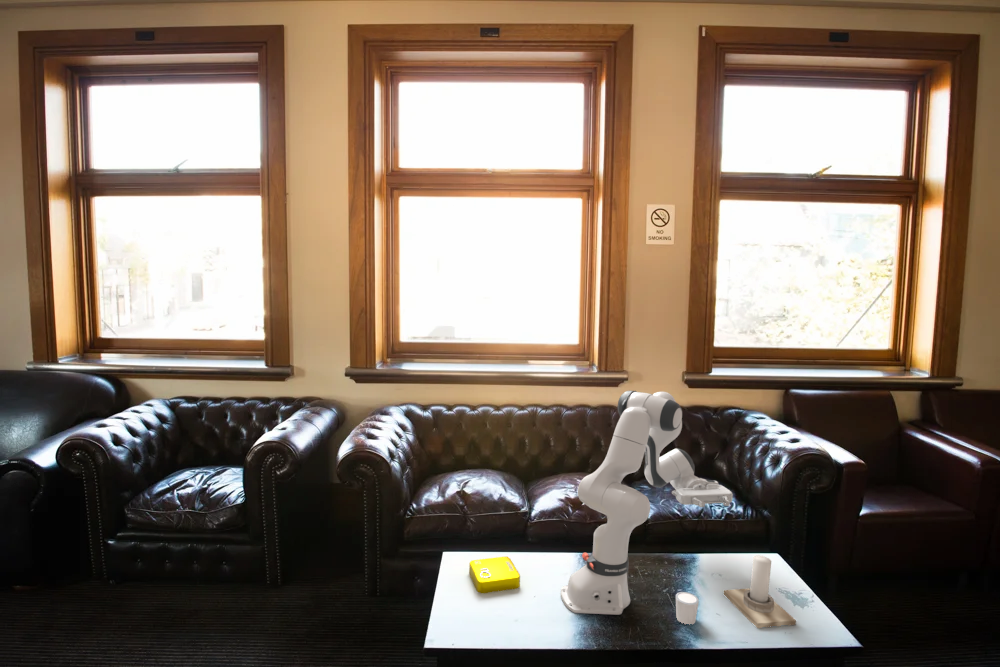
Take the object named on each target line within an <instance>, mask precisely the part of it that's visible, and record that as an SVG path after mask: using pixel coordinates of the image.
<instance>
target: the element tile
mask: <svg viewBox="0 0 1000 667" xmlns="http://www.w3.org/2000/svg"><path fill="white" fill-rule="evenodd" d="M468 567H469V569H468V573H469V574H468V575H469V577H470V578H471V581H472V584H473V586H474V588H475V590H476V592H478V593H479V594H488V593H496V592H497V593H498V592H504V591H511V590H512V591H513V590H517V589H519V588H520V587H521V575H520V572H519V571H518V569H517V568H516V565H515V564H514V563H513V560H512V559H511V558H510V557H508V556H498V557H497V556H496V557H489V558H479V559H473V560H471V561H470V562H469V566H468Z"/></svg>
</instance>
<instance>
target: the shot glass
mask: <svg viewBox="0 0 1000 667" xmlns="http://www.w3.org/2000/svg"><path fill="white" fill-rule="evenodd" d="M699 600H700V599H699V598H698V596H697V595H695V594H694V593H691V592H686V591H680V592H679V591H678V592H677V593H676V594H675V614H676V615H675V616H676V618H677V621H678V622H679V623H680V622H681V624H683V623H684V624H683V625H686V624H689V625H688V626H691V625H690V624H692V625H694V624H695V623H696V621H697V613H698V608H699V602H700V601H699Z"/></svg>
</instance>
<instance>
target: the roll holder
mask: <svg viewBox="0 0 1000 667" xmlns="http://www.w3.org/2000/svg"><path fill="white" fill-rule="evenodd" d="M750 588H751V587H750ZM750 588H749V587H748V588H737V589H736V588H734V589H724V590H723V594H724V595H725V596H726V597H727V598H728V599H729V600H730V601H729V600H728V599H727V598H726V597H725V596H724V597H725V598H726V599H727V600H728V601H729V602H730V603H731V604H732V605H733V606H734V607H735V608H736V609H737V610H738V611H739V612H740V613H741V614H742V615H743V616H744V617H745V618H746V619H747V620H748V621H749V622H750V623H753V624H754V625H755V626H756V627H757V628H756V627H755V626H754V627H755V628H756V629H763V628H762V627H766V628H773V627H772V626H777V627H782V626H781V625H788V626H796V624H797V619H795V618H794V617H793V616H792V615H790V613H788V612H787V610H785V609H784V608H783V607H782V606H781V605H779V604H778V603H777V602H776V601H775V599H774V597H773V596H771V595H770V593H768V602H767V603H758V602H755V601H753V600H751V599H750ZM753 624H752V625H753ZM770 626H771V627H770Z"/></svg>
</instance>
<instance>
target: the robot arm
mask: <svg viewBox="0 0 1000 667" xmlns="http://www.w3.org/2000/svg"><path fill="white" fill-rule="evenodd" d="M617 412H618V415H619V419H618V421H617V423H616V426H615V428H614V432H613V435H612V439H611V441H610V444H609V447H608V450H607V454H606V455H605V458H604V460H603V461H602V463H601V464H600V465H599V467H598V468H597V469H596V470H595V471H593V472H592V473H590V474H587V475H586V476H584V477H583V478H582V479H581V480H580V482H579V484H578V488H577V495H578V498H579V501H580V502H582V503H583V504H584V505H586V506H587V507H588V508H590V509H592V510H594V511H596V512H598V513H601V514H603V515H605V516H606V519H607V522H606V523H603V524H601V525H600V526H599V525H598V526H597V528H596V529H595V530H594V532H593V542H592V544H593V545H592V553H591V554H590V556H589V553H587V552H582V555H581V557H582V558H583V560H584V561H586V564H584V566H582V567H581V568H579V569H578V570H576V571H574V572H573V573H572V574H571V575H570V576H569V579H568V582H567V585H562V587H561V589H560V598H561V601H562V602H563V604H564V605H565V607H566V608H567V609H568V610H570V611H571V612H572V613H575V614H591V615H592V614H593V615H595V614H596V615H598V614H599V615H615V616H616V615H622V613H623V612H624V609H626V608H627V607H629V605H630V604H631V597H630V593H629V586H628V574H629V566H630V565H629V557H628V551H629V542H630V536H631V533H633V530H634V529H635V528H636V527H638V526H640V525H642V524H643V523H644V522H646V521H647V520H648V519H649V516H650V513H651V502H650V501H649V498H648V496H646V495H645V494H644V493H642V492H641V491H639V490H637V489H635V488H633V487H630V486H628V485H626V484H624V483H623V484H622V481H623V479H624V478H625V477H626V476H627V475H629V474H632V473H636V472H637V471H639V469H640V468H641V465H642V464H643V463H642V462H643V461H644V462H645V463H644V468H643V473H644V476H645V479H646V481H647V482H648V483H649V485H650V486H652V487H655V488H660V489H661V488H663V487H664V486H666V485H668V484H669V483H670V485H671V486H672V487H673V488H674V489H673V490H671V494H672V495H673V496H675V499H676V500H677V501H678V502H679V504H681V505H685V506H689V505H691V506H692V505H694V506H698V507H699V508H705V507H706V505H708V504H710V505H711V504H722V505H723V506H724V507H729V506H730V504H731V503H732V501H733V497H734V496H733V495H734V494H733V492H732V491H731V490H730V489H728V488H727V487H725V486H723V485H722V484H719V481H717V480H711V479H705V478H702V477H698V476H696V475H695V463H694V460H693V458H692V457H691V456H690V454H689V453H688V452H686V451H685V450H683V449H681V448H679V447H678V448H674V449H672V450H669V451H668V452H667V453H665V454H663V455H661V456H660V454H661V453H662V451H663V449H664V448H665V447H667V446H668V445H669V444H670V443H671V442H673V441H674V440H676V438H678V436H680V434H681V431H682V430H683V429H682V428H683V419H682V418H683V409H682V407H681V405H680V404H679V403H678V402H677V401H676V399H675V397H674V396H673V395H672V394H671V393H669V392H667V391H656V392H654V393H653V394H652V393H647V392H641V391H640V392H639V391H636V390H626V391H624V392H623V393H622V394H621V395H620V396H619V399H618V401H617ZM643 459H644V460H643Z"/></svg>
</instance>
